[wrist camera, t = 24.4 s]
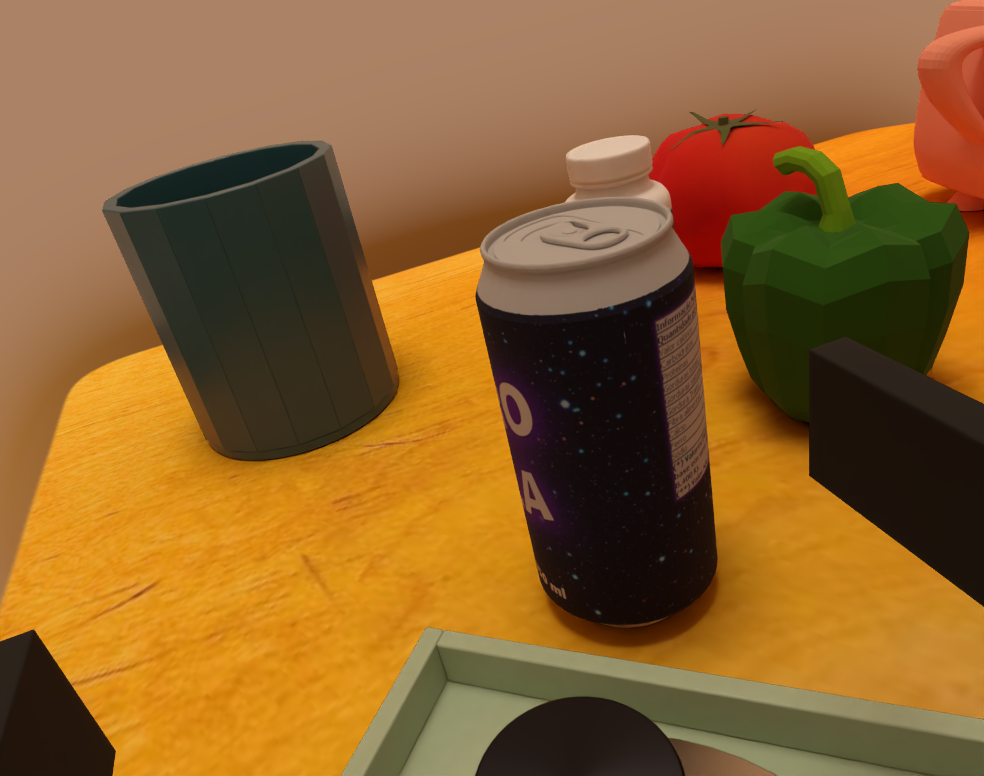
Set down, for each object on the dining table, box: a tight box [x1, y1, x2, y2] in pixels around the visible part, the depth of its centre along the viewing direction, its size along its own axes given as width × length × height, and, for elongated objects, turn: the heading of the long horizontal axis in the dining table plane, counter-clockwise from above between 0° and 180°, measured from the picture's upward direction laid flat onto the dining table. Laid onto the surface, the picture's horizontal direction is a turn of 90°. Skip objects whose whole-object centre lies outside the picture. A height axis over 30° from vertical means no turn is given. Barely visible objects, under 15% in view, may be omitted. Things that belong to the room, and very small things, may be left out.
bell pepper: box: [721, 146, 969, 422], centre depth 30 cm, size 8×8×10 cm
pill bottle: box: [565, 135, 674, 230], centre depth 39 cm, size 5×5×10 cm
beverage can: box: [476, 197, 717, 628], centre depth 22 cm, size 6×6×12 cm
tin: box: [103, 141, 399, 460], centre depth 38 cm, size 10×10×12 cm
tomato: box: [649, 111, 817, 267], centre depth 45 cm, size 9×10×8 cm
